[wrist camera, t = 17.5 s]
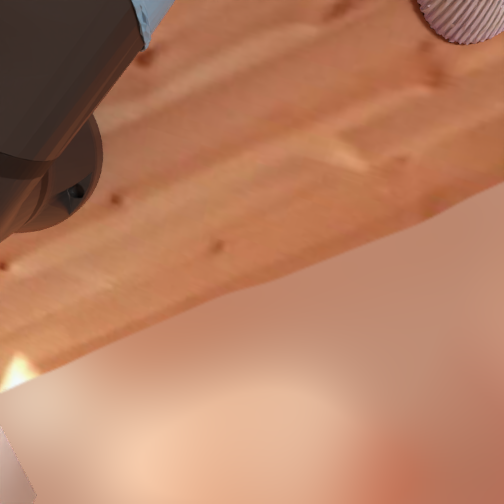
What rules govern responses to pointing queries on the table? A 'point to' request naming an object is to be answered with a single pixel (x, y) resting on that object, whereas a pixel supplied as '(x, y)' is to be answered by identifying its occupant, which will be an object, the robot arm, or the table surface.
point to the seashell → (465, 18)
